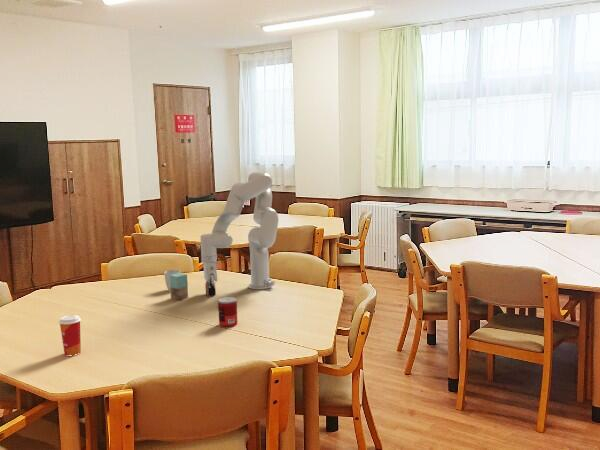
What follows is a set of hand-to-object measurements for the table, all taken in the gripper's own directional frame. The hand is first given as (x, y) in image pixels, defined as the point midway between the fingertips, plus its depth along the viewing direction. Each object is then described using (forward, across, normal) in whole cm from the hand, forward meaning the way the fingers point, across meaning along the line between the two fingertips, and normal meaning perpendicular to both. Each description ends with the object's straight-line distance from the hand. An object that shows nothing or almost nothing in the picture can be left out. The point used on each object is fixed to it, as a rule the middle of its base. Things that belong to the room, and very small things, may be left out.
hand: (210, 293), depth 305 cm
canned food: (+1, -51, +4) cm, 51 cm away
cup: (+1, +18, +16) cm, 24 cm away
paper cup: (+1, -60, +66) cm, 89 cm away
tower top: (-5, 0, +16) cm, 16 cm away
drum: (+1, 0, 0) cm, 1 cm away
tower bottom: (+1, 0, +16) cm, 16 cm away
